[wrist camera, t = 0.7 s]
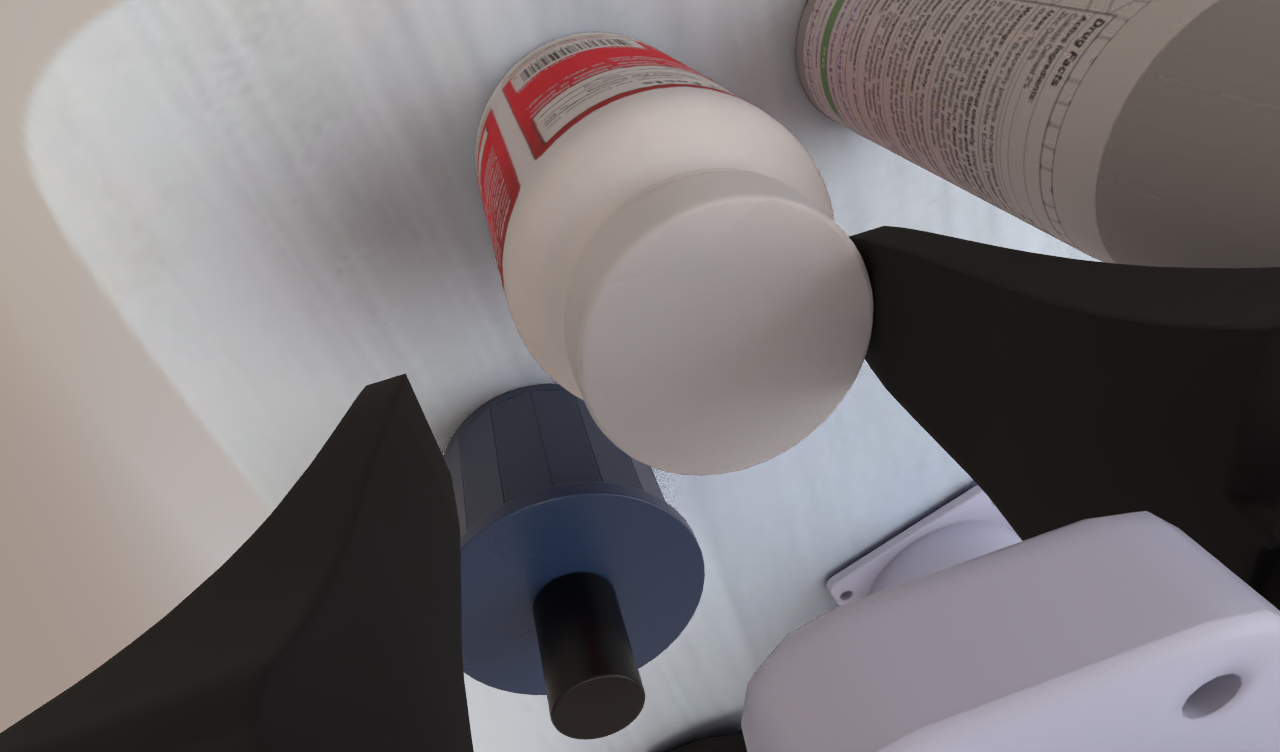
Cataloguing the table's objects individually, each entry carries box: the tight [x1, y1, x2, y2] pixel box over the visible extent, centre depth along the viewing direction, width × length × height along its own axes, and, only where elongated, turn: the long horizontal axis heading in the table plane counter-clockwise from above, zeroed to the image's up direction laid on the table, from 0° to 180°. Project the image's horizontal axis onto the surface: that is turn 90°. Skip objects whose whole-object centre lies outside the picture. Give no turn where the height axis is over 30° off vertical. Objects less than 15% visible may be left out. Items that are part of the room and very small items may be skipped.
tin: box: [444, 384, 665, 538], centre depth 24 cm, size 6×6×5 cm
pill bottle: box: [475, 32, 874, 475], centre depth 16 cm, size 6×6×11 cm
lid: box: [460, 482, 705, 739], centre depth 20 cm, size 7×7×4 cm
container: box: [796, 0, 1280, 268], centre depth 15 cm, size 5×5×15 cm
